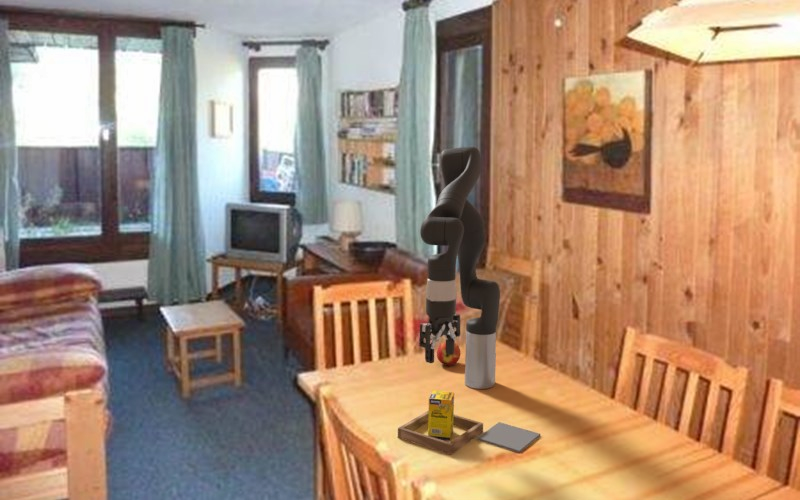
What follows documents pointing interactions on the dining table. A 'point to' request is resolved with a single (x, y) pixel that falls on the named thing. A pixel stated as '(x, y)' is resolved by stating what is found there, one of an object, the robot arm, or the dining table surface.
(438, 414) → the supplement box
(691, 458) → the dining table surface
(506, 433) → the mat
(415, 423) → the frame
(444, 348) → the apple
